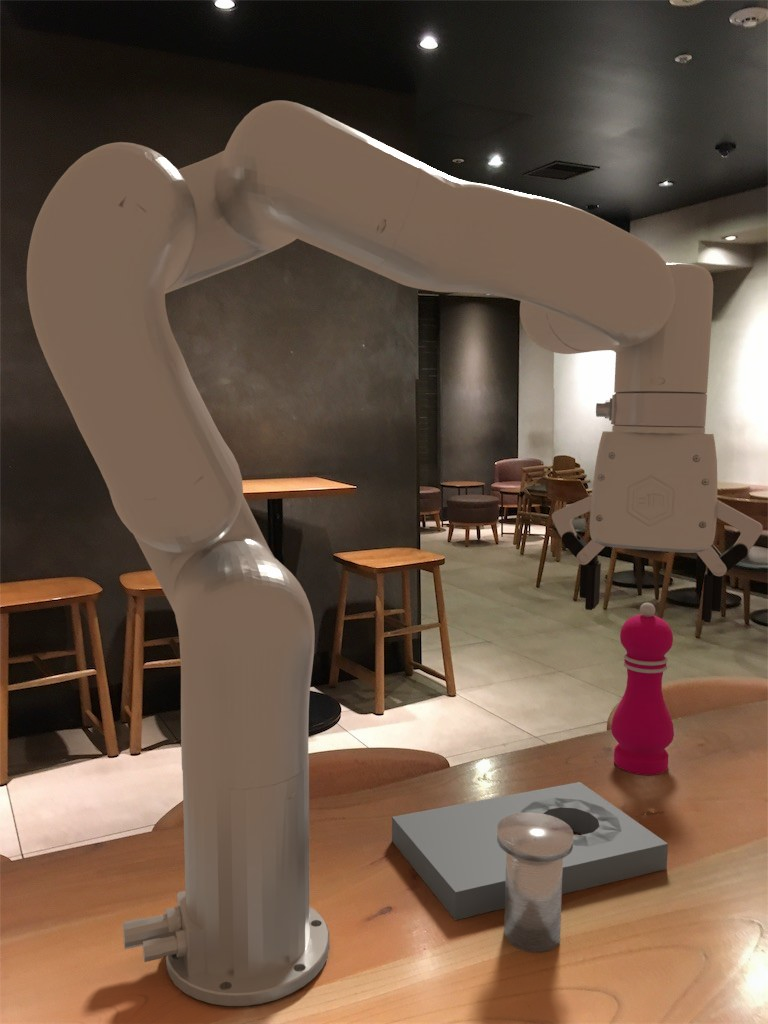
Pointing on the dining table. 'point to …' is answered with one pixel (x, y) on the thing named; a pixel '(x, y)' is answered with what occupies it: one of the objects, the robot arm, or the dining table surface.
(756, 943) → the dining table surface
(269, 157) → the robot arm
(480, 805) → the plate
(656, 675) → the pepper mill
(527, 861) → the grey cylindrical piece
